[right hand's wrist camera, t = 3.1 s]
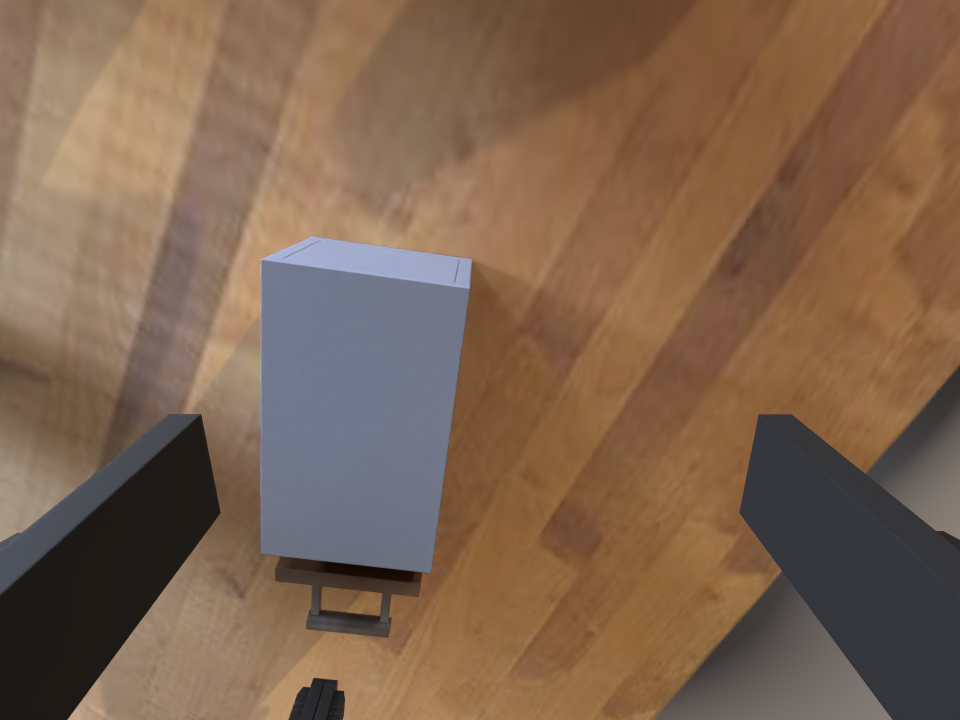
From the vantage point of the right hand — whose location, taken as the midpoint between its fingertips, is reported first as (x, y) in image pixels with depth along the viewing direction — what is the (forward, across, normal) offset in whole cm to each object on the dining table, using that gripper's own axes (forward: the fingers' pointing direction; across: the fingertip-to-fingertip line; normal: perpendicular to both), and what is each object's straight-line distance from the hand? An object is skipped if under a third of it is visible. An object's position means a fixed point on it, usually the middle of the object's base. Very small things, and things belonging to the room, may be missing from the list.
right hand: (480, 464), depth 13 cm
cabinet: (+26, -7, -8) cm, 28 cm away
